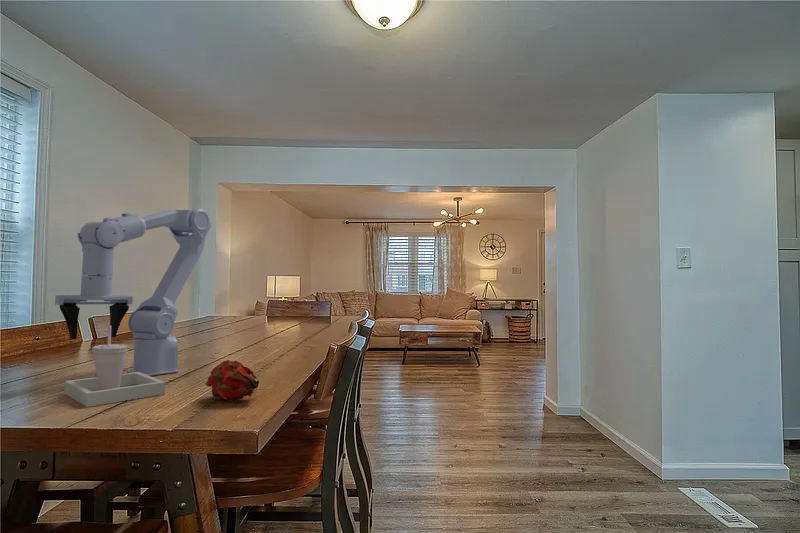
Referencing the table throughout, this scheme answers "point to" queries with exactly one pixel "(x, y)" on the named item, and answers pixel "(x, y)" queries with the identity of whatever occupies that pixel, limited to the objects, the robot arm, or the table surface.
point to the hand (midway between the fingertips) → (93, 337)
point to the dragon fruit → (232, 381)
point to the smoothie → (109, 363)
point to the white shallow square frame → (142, 389)
